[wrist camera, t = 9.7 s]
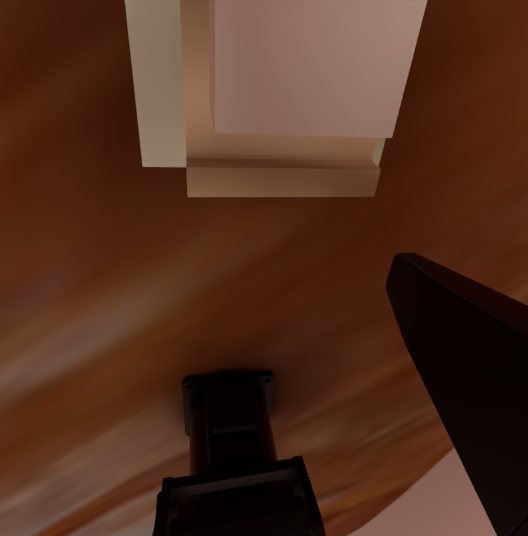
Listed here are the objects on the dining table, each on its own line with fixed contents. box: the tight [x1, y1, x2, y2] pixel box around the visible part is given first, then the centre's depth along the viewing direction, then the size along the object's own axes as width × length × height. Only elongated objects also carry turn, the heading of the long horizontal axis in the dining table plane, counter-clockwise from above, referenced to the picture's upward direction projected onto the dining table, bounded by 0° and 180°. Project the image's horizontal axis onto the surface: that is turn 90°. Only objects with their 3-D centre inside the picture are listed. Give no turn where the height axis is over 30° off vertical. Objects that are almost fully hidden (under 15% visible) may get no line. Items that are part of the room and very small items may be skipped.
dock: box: [125, 0, 386, 167], centre depth 15 cm, size 11×10×3 cm
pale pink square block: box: [209, 0, 427, 138], centre depth 10 cm, size 5×5×3 cm
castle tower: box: [180, 0, 381, 197], centre depth 12 cm, size 10×6×4 cm, turn 176°
